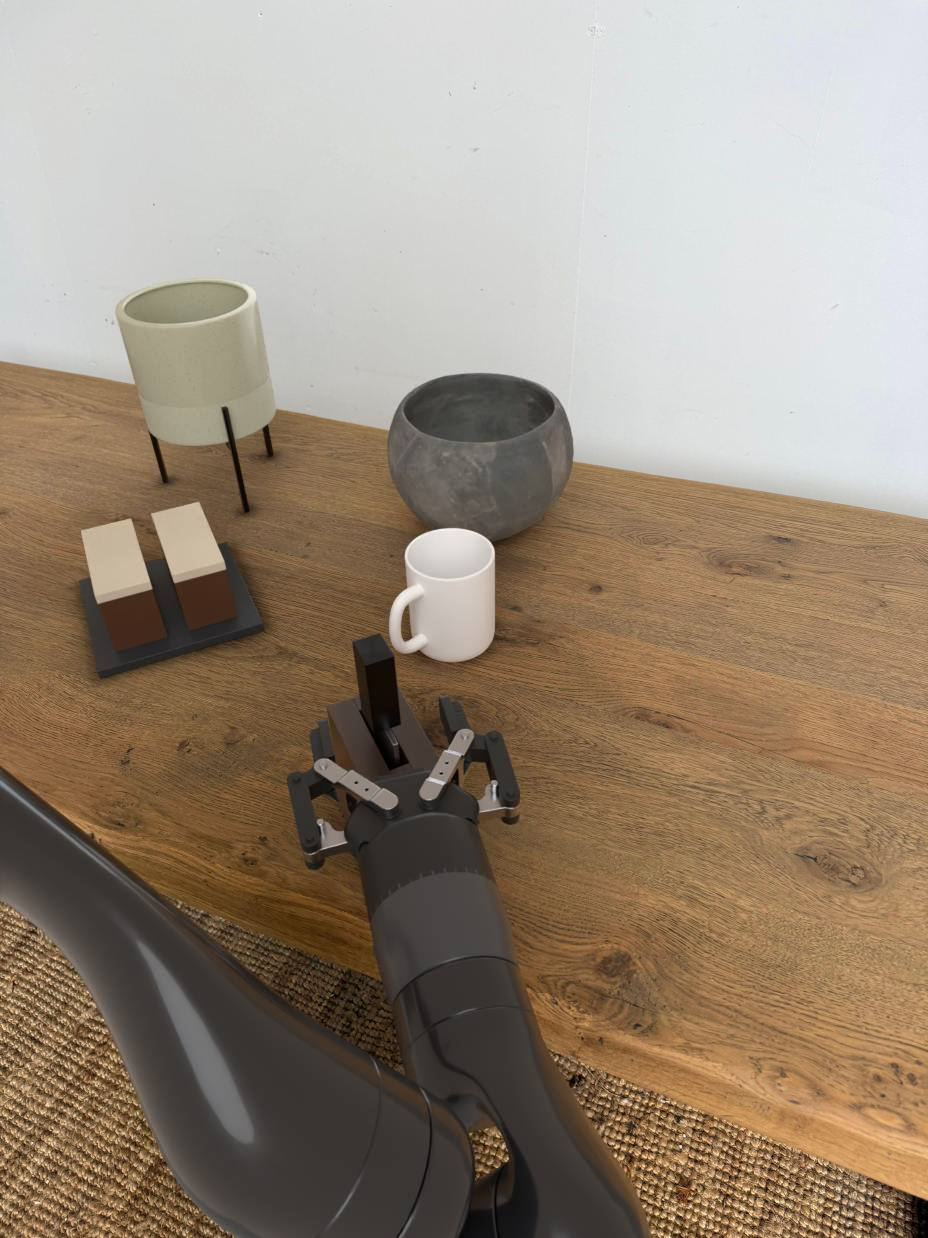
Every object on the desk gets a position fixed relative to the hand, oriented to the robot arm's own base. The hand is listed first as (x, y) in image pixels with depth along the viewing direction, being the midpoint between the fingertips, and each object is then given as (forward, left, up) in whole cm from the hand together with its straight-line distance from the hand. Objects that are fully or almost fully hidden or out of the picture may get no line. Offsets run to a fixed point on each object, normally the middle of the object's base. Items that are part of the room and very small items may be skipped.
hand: (384, 715), depth 60 cm
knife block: (+1, +3, -12) cm, 13 cm away
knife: (+1, +3, -12) cm, 13 cm away
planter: (0, +59, -13) cm, 60 cm away
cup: (+12, +18, -13) cm, 25 cm away
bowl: (+25, +36, -13) cm, 45 cm away
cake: (-11, +36, -12) cm, 40 cm away
